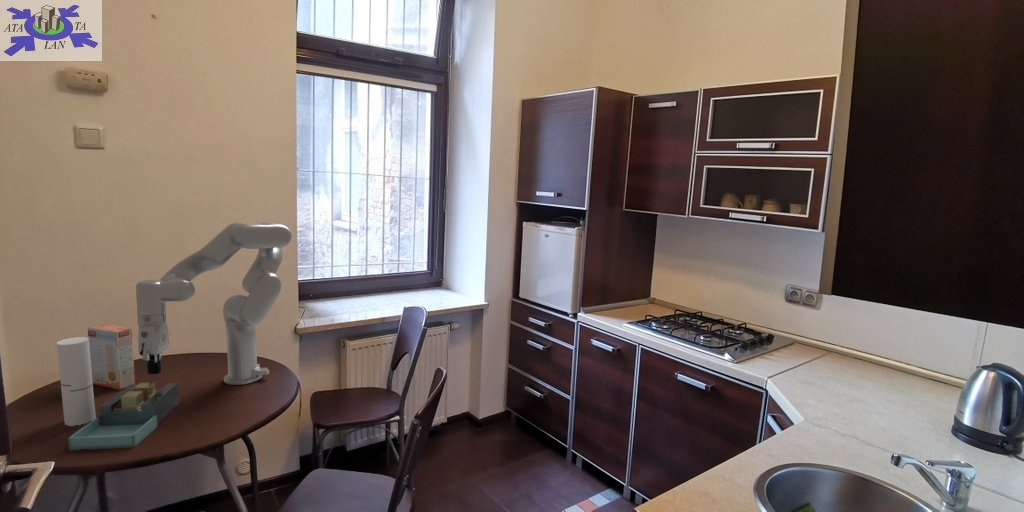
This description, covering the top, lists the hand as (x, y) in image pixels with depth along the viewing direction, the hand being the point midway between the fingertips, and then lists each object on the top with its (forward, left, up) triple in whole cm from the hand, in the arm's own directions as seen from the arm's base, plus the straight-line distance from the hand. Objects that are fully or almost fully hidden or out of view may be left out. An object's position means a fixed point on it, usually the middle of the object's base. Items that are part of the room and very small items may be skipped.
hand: (154, 373), depth 165 cm
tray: (0, +23, -10) cm, 25 cm away
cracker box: (+22, -17, -10) cm, 29 cm away
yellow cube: (0, +14, -5) cm, 15 cm away
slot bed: (0, +9, -10) cm, 14 cm away
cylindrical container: (+16, +11, -10) cm, 22 cm away
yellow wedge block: (0, +7, -5) cm, 9 cm away
